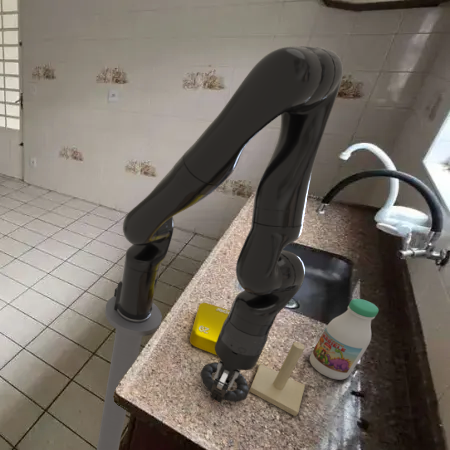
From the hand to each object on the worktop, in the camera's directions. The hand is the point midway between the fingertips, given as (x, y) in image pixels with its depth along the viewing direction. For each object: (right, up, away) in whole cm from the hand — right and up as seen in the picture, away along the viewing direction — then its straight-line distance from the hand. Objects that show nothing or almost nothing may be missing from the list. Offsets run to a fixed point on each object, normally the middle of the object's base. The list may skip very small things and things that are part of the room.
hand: (217, 394), depth 78 cm
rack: (+15, 0, +3) cm, 15 cm away
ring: (+3, +2, +2) cm, 4 cm away
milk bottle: (+32, +3, +8) cm, 33 cm away
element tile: (+10, +7, +17) cm, 21 cm away
